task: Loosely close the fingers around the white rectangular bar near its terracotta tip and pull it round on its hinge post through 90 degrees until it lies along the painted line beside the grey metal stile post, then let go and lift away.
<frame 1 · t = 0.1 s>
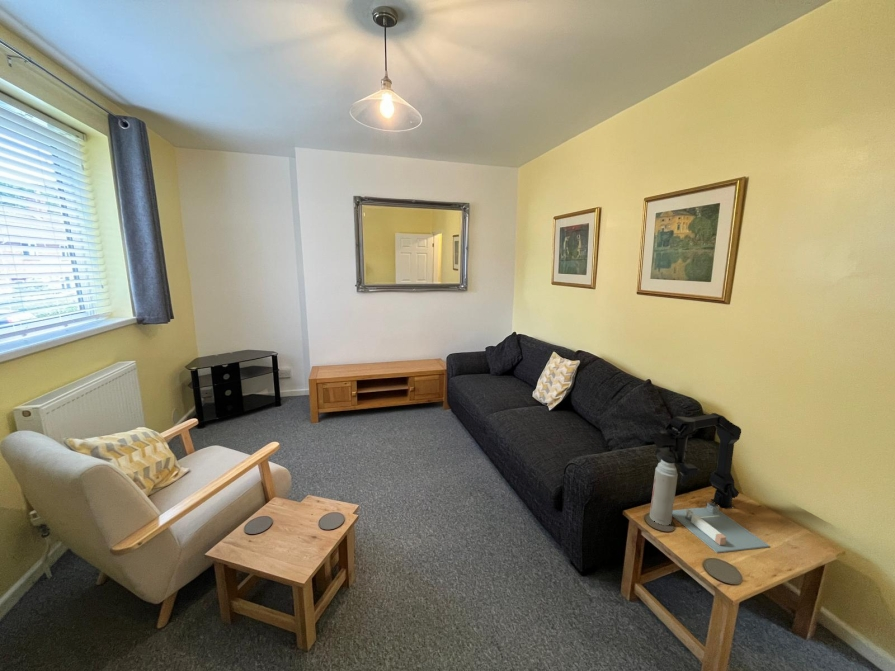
hand: (673, 478, 154), 15 cm above the table, fingers open, 9 cm apart
posts: (688, 520, 149), resting on board
thermos bottle: (660, 519, 149), on the table
board: (714, 528, 145), on the table
white rectangular bar: (707, 529, 140), point 3 cm above the table, hinge at 0.0°
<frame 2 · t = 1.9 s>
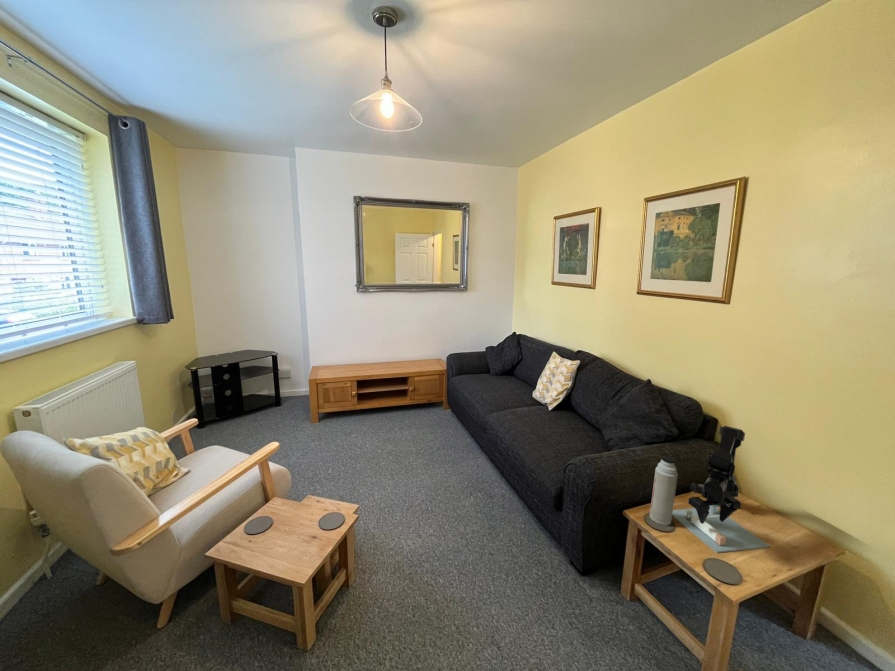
hand: (711, 522, 139), 6 cm above the table, fingers open, 9 cm apart
nothing on the table moved.
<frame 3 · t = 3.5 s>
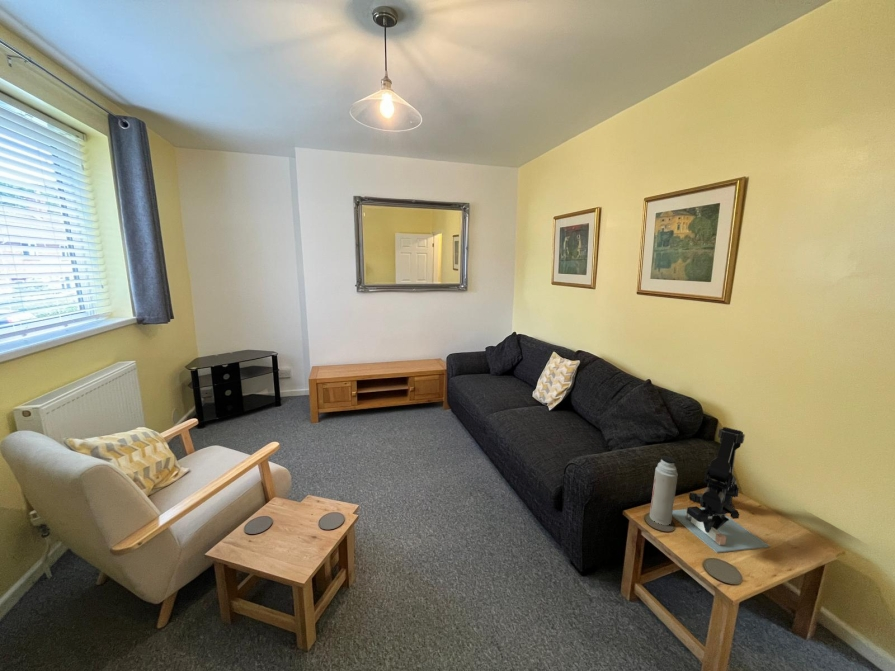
hand: (709, 531, 139), 2 cm above the table, fingers closed on white rectangular bar, 2 cm apart
white rectangular bar: (707, 529, 140), point 2 cm above the table, hinge at 0.0°, touching gripper
everything else where it was.
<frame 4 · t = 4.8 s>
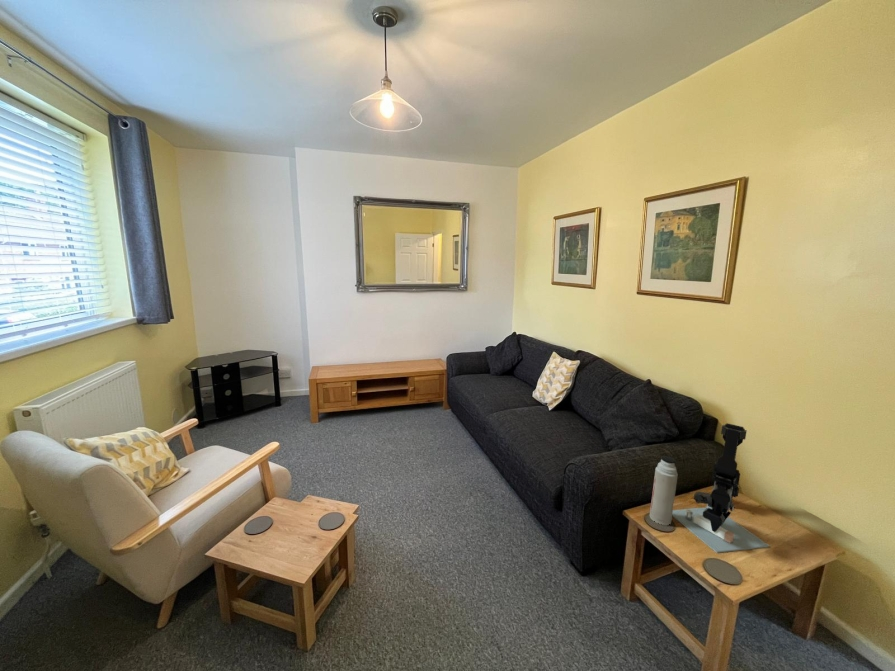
hand: (715, 529, 141), 2 cm above the table, fingers open, 4 cm apart
white rectangular bar: (712, 527, 141), point 2 cm above the table, hinge at 18.7°, touching gripper
everything else where it was.
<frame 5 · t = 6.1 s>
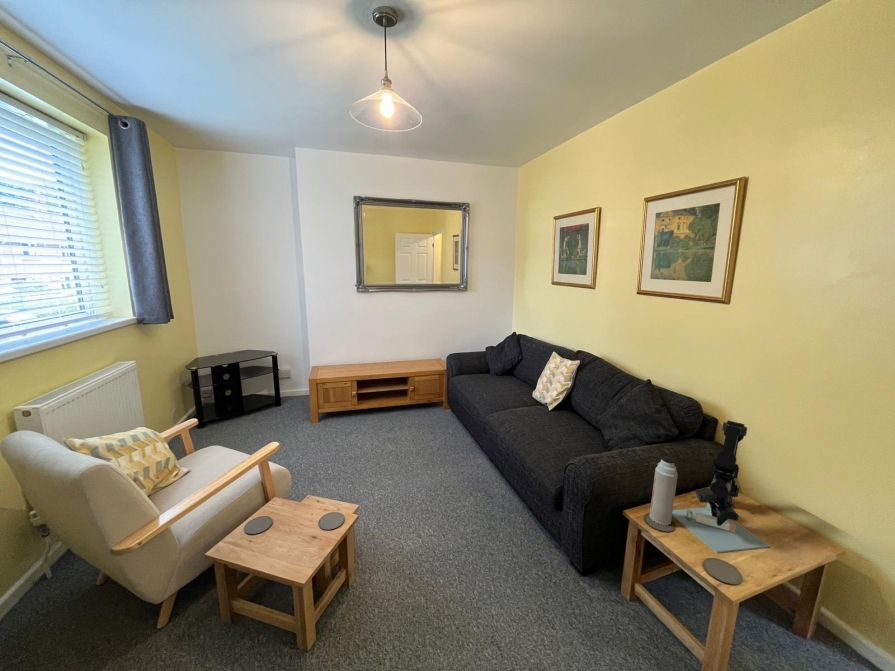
hand: (716, 522, 145), 2 cm above the table, fingers open, 4 cm apart
white rectangular bar: (715, 521, 145), point 2 cm above the table, hinge at 52.9°, touching gripper
everything else where it was.
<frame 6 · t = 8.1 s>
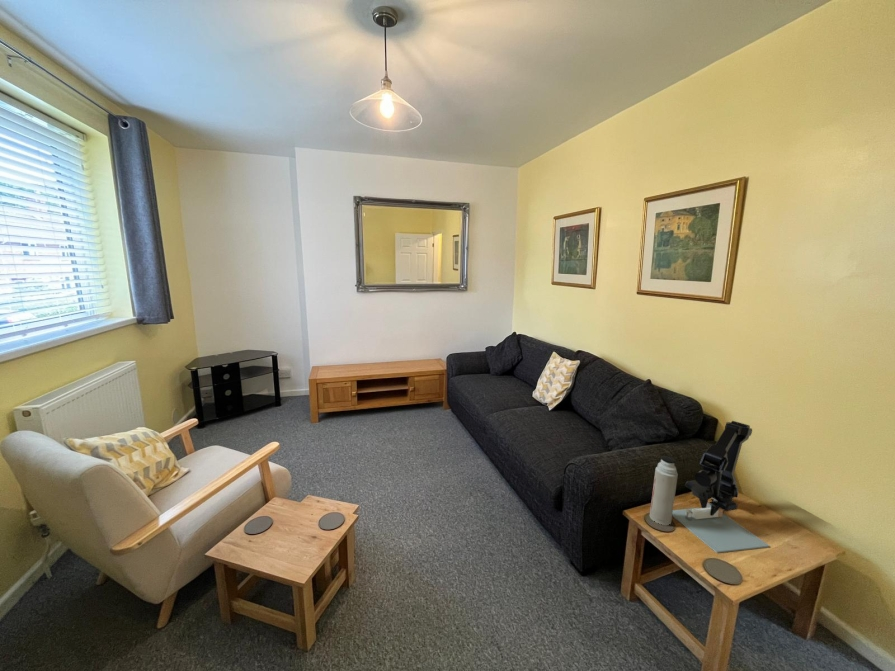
hand: (707, 512, 151), 2 cm above the table, fingers open, 3 cm apart
white rectangular bar: (706, 512, 151), point 2 cm above the table, hinge at 90.7°, touching gripper
everything else where it was.
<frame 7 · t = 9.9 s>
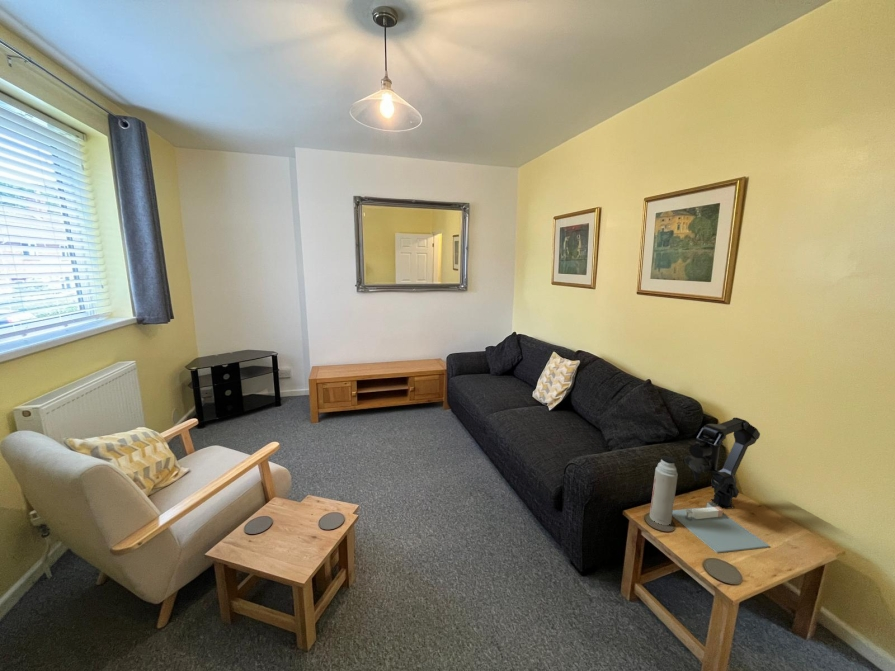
hand: (705, 486, 154), 12 cm above the table, fingers open, 9 cm apart
white rectangular bar: (706, 512, 151), point 2 cm above the table, hinge at 90.9°, touching posts
everything else where it was.
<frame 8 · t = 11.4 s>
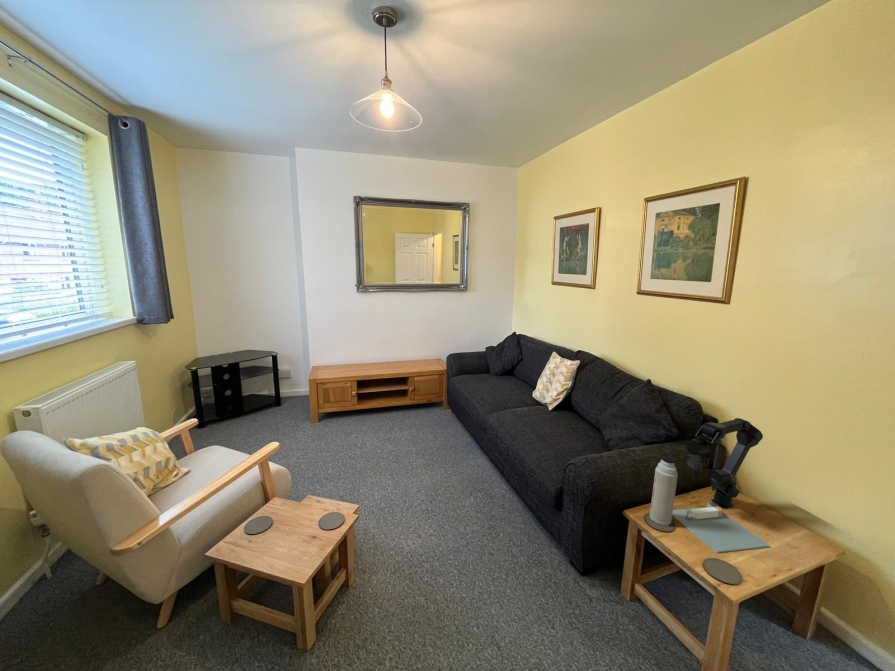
hand: (703, 484, 155), 12 cm above the table, fingers open, 9 cm apart
nothing on the table moved.
at the end: white rectangular bar at +91° (first picture: +0°) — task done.
